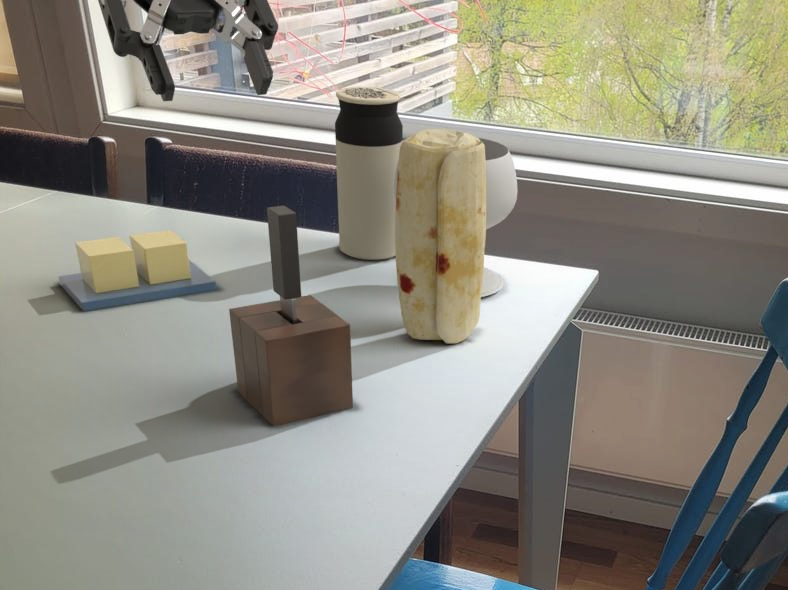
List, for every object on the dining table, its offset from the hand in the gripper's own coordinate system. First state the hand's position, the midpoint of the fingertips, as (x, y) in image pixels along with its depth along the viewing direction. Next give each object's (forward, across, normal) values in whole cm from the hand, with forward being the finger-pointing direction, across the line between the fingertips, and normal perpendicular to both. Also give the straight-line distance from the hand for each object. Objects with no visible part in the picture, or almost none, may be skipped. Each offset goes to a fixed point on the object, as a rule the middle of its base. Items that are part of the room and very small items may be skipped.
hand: (218, 92), depth 85 cm
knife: (+25, 0, +9) cm, 26 cm away
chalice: (+11, +30, +23) cm, 39 cm away
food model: (+20, +20, +14) cm, 32 cm away
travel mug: (+1, +27, +33) cm, 42 cm away
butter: (+1, -4, +33) cm, 33 cm away
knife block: (+25, 0, +9) cm, 26 cm away
